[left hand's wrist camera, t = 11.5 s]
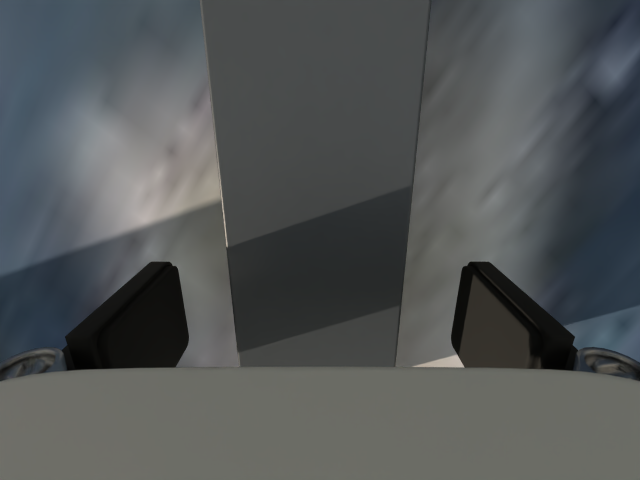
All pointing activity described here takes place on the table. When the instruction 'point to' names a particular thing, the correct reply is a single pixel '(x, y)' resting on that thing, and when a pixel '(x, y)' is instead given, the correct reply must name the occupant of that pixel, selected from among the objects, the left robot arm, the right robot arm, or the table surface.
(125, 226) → the table surface
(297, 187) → the beam
